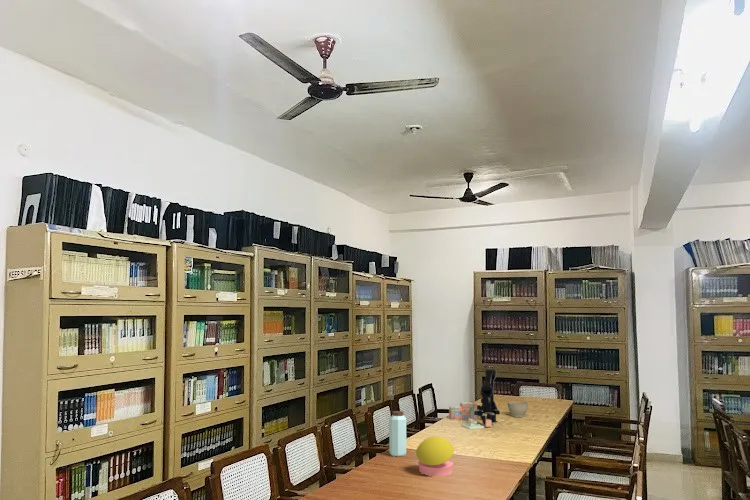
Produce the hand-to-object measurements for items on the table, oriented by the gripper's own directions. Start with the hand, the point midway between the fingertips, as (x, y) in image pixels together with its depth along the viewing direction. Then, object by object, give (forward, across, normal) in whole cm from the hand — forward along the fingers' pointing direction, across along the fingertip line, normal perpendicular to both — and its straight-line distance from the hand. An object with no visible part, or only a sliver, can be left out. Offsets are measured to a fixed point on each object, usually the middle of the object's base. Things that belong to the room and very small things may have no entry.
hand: (487, 424), depth 422 cm
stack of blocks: (+2, +1, -35) cm, 35 cm away
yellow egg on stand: (+2, +88, +93) cm, 128 cm away
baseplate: (+2, +10, -4) cm, 11 cm away
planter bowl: (+2, -46, -29) cm, 54 cm away
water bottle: (+2, +93, +53) cm, 107 cm away
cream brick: (+1, +10, -4) cm, 11 cm away
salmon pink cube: (+1, 0, 0) cm, 1 cm away
